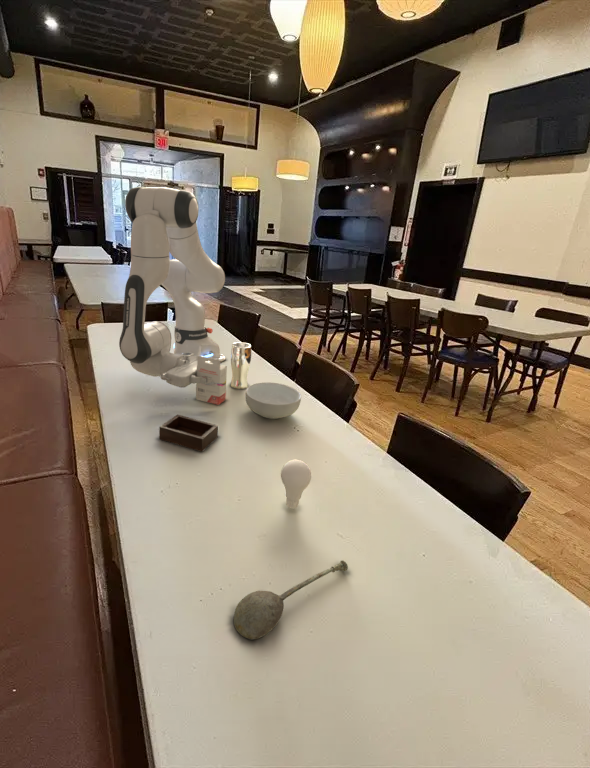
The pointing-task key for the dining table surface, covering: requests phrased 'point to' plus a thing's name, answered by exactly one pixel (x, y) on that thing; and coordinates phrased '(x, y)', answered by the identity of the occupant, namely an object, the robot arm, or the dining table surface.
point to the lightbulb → (295, 481)
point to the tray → (188, 432)
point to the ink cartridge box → (211, 381)
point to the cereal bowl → (272, 399)
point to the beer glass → (240, 364)
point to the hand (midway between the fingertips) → (213, 376)
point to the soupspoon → (268, 607)
